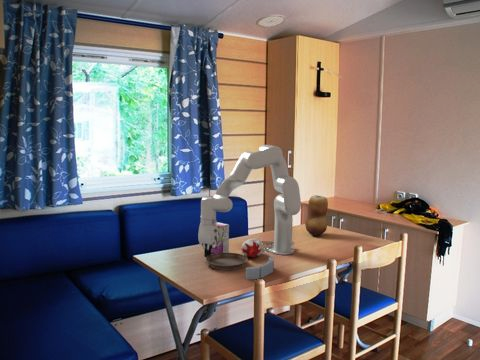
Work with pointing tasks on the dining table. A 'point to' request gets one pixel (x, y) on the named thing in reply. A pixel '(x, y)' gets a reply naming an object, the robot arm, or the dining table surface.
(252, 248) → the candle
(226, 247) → the candy bar box
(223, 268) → the plant saucer
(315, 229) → the butternut squash
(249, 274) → the grey curved bar
